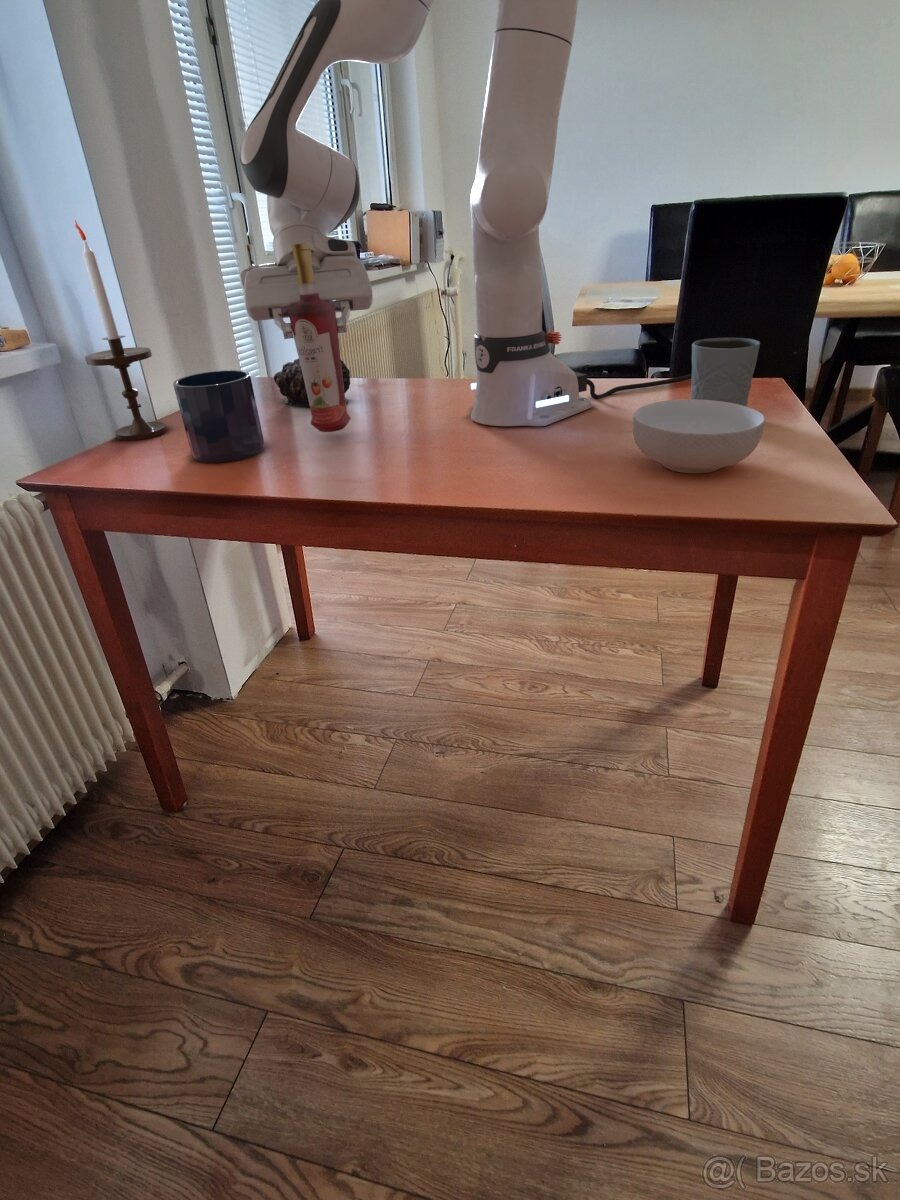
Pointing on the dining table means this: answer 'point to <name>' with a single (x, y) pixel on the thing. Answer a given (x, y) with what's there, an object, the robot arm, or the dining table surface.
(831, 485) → the dining table surface
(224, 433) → the dark blue plant pot
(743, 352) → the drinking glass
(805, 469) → the dining table surface
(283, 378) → the pine cone
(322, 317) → the liquor
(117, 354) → the candlestick
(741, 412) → the cereal bowl
